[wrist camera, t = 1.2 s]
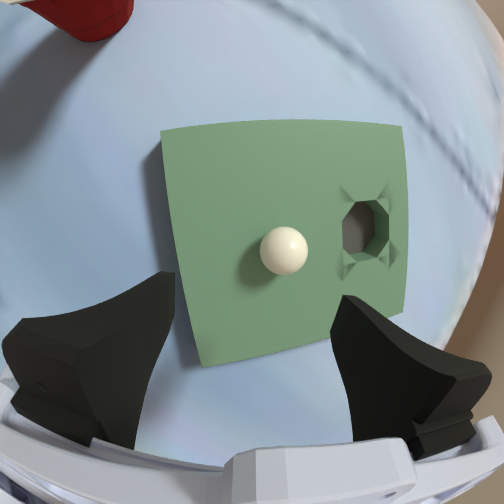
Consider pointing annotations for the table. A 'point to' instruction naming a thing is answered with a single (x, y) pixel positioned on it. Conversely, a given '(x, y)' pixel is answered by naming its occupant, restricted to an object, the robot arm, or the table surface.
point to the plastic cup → (82, 15)
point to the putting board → (284, 215)
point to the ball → (283, 250)
